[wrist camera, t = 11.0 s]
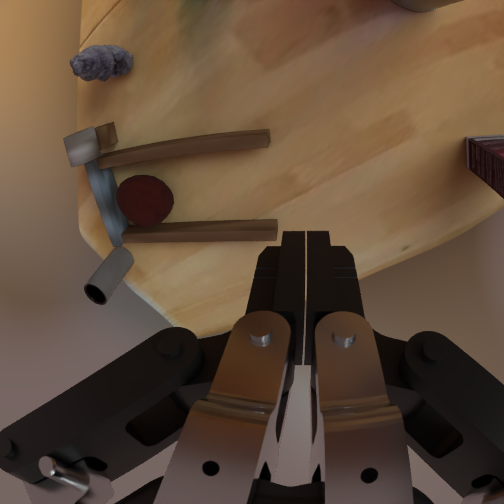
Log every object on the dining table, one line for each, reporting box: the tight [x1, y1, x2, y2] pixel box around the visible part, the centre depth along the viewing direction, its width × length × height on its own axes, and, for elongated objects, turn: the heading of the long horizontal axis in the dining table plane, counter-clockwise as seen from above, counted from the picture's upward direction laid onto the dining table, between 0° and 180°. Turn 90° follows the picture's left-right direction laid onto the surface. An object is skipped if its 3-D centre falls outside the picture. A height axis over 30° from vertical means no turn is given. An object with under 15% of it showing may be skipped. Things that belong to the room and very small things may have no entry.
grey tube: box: [84, 247, 133, 305], centre depth 45 cm, size 4×4×10 cm
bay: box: [63, 122, 278, 247], centre depth 34 cm, size 19×26×8 cm
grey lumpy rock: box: [70, 45, 133, 81], centre depth 25 cm, size 5×5×10 cm
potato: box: [116, 175, 174, 227], centre depth 37 cm, size 7×8×7 cm
